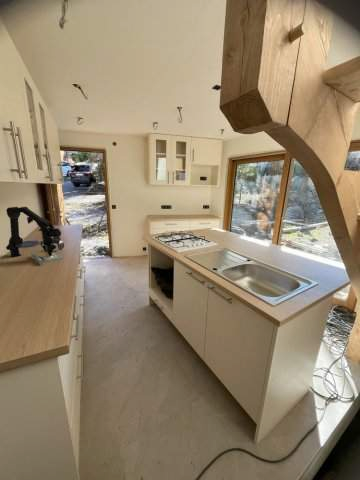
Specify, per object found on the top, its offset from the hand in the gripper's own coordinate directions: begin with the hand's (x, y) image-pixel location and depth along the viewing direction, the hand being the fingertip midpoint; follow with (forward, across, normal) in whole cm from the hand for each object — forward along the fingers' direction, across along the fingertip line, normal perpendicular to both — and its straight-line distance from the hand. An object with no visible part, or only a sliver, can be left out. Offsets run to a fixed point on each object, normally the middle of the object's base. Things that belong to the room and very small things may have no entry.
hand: (49, 255), depth 165 cm
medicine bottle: (+2, +17, -12) cm, 21 cm away
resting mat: (+2, 0, 0) cm, 2 cm away
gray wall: (+2, -1, +9) cm, 9 cm away
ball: (-1, 0, 0) cm, 1 cm away
